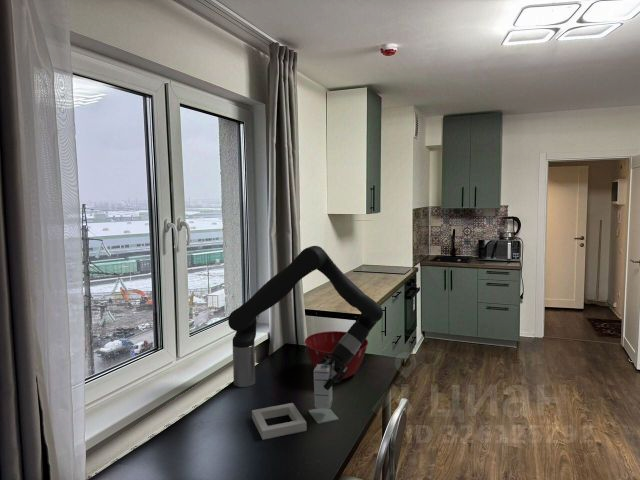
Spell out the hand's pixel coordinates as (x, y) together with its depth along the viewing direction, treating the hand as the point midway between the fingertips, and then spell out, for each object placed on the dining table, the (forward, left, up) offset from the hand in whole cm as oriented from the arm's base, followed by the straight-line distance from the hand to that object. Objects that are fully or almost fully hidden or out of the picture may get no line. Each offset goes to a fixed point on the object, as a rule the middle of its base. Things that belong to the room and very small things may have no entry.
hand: (319, 384), depth 164 cm
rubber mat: (0, +1, -12) cm, 12 cm away
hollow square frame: (0, -16, -12) cm, 20 cm away
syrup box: (0, +1, -8) cm, 8 cm away
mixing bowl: (-33, +21, -12) cm, 41 cm away
